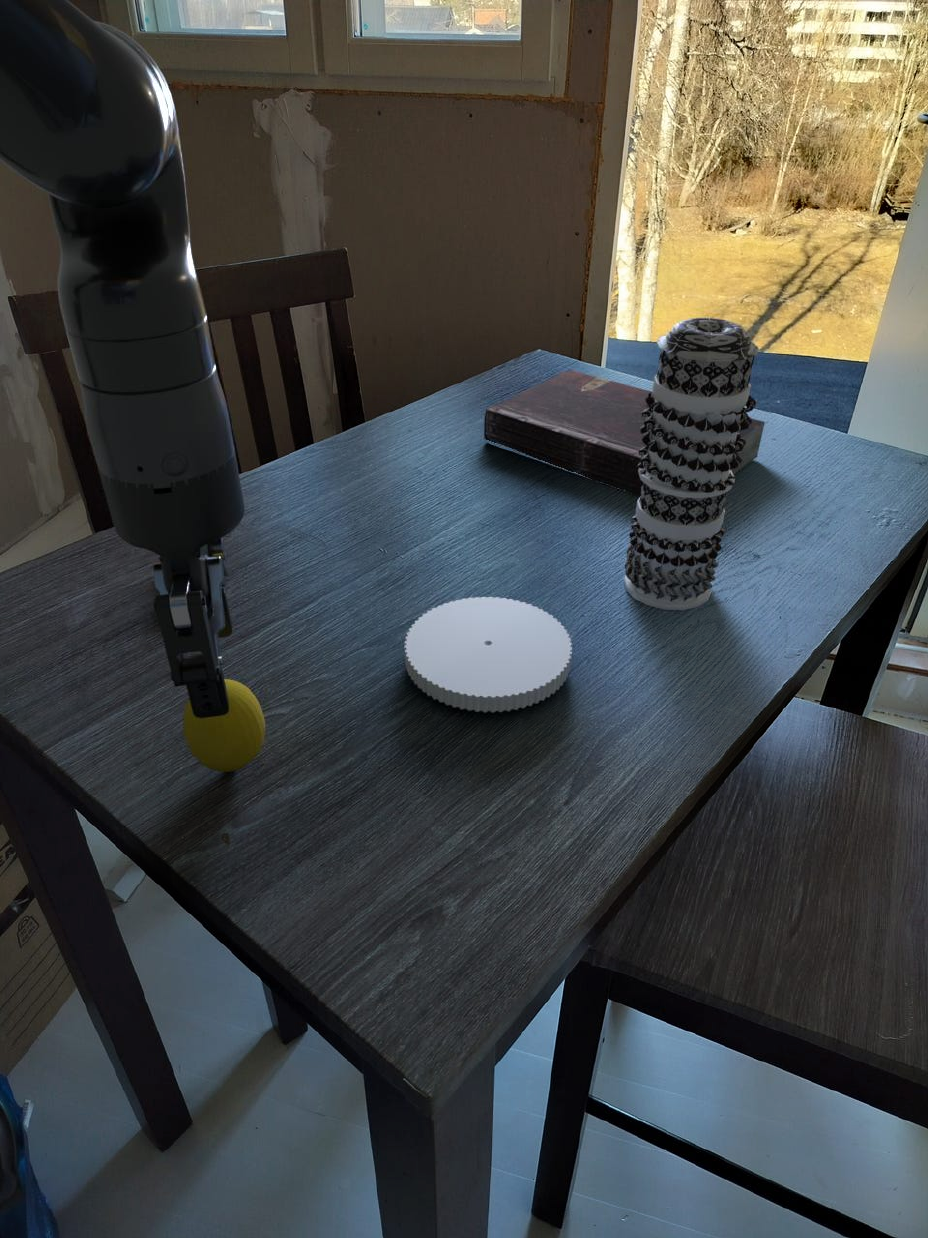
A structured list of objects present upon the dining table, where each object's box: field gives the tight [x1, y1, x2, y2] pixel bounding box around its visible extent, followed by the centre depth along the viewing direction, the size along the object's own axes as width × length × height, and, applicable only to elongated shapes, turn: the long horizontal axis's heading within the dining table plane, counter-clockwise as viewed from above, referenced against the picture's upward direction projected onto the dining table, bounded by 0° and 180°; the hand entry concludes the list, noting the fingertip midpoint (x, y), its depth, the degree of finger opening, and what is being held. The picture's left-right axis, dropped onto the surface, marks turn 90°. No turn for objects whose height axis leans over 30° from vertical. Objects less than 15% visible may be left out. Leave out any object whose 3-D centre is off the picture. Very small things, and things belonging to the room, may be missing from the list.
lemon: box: [183, 678, 266, 773], centre depth 60 cm, size 6×6×8 cm
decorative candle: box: [623, 317, 760, 611], centre depth 76 cm, size 9×9×25 cm
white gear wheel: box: [403, 596, 573, 713], centre depth 72 cm, size 14×14×2 cm
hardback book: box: [483, 369, 766, 497], centre depth 107 cm, size 29×19×5 cm, turn 50°
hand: (215, 672), depth 58 cm, fingers open, 8 cm apart
